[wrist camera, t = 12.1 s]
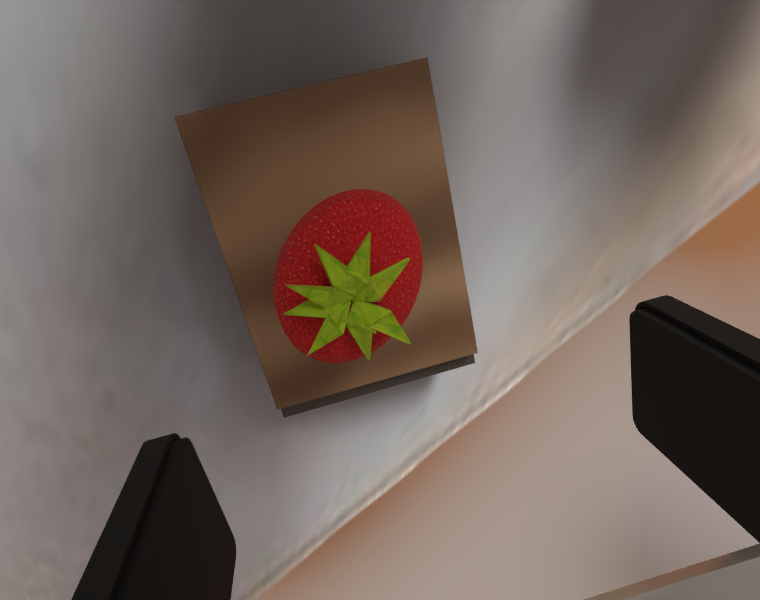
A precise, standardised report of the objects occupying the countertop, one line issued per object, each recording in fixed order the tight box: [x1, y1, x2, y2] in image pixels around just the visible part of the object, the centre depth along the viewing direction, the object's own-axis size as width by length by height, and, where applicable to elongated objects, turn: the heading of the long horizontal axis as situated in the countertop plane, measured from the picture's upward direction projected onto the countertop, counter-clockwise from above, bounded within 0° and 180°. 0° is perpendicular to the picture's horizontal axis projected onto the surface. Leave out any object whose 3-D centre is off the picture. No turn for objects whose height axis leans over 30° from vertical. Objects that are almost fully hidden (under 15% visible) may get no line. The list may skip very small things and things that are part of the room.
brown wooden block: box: [175, 58, 478, 417], centre depth 29 cm, size 17×12×6 cm
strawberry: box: [273, 189, 423, 363], centre depth 21 cm, size 6×8×10 cm
